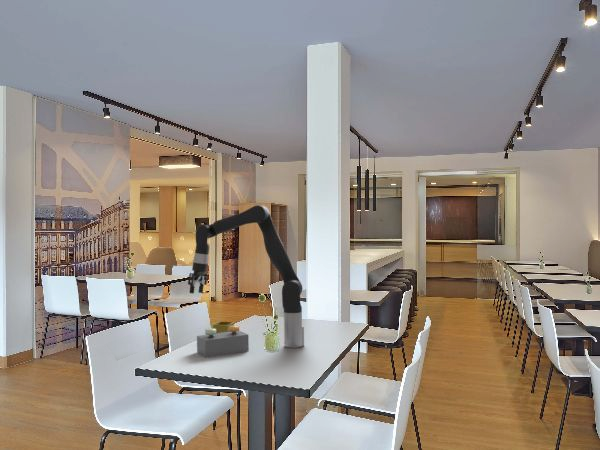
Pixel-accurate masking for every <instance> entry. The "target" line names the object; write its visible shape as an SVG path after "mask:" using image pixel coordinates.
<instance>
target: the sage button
mask: <svg viewBox="0 0 600 450" xmlns="http://www.w3.org/2000/svg"><path fill="white" fill-rule="evenodd" d="M214 334H216V329H213V328H206V329H205V333H204V335H209V338H212V337H213V335H214Z"/></svg>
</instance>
